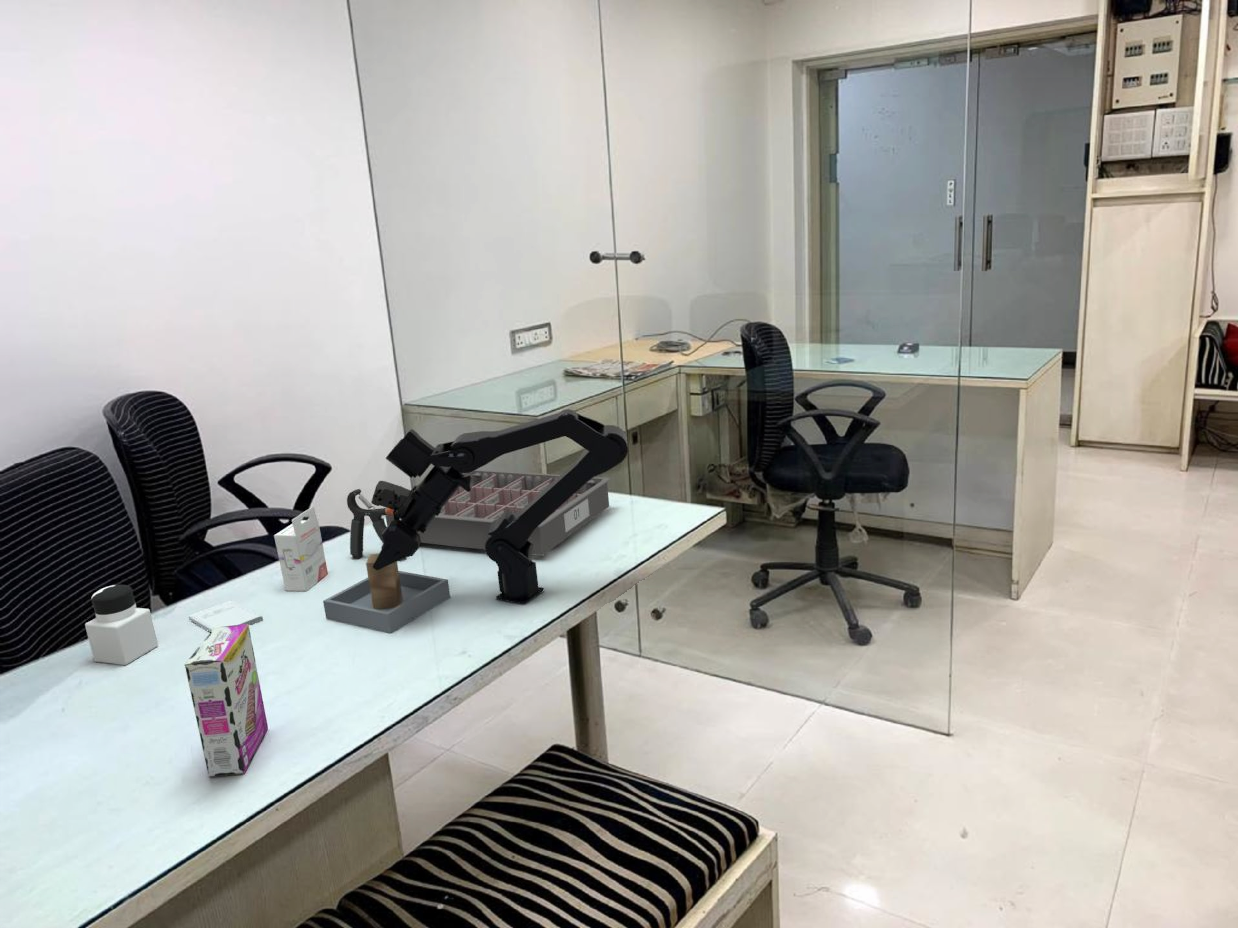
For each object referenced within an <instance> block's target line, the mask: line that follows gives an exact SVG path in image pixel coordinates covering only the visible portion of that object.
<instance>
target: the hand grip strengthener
mask: <svg viewBox="0 0 1238 928" xmlns="http://www.w3.org/2000/svg"><path fill="white" fill-rule="evenodd" d="M356 496H358V497H357V498H358V499H359V500H360V501H361V502H362V504H363V505H365V507H367V509H366V508H362V507H360V506H359V505H358V503H357V500H356ZM346 504H347V508H348V510H349V511H350V512H351V513H352V515H353V518H352V519H351V523H350V533H349V534H350V535H349V536H350V537H349V540H350V541H349V555H351V558H352V559H355V560H356V559H357V560H359V559H361V558H363V557H364V553H363V552H364V531H365V520H366V519H365V516H367V517H369V519H370V521H371V524H372V525H371V526H372V527H373V529H374V531H375V533H376V535H377V537H378V538H379V539H380V541H381V543H382V544H383V543H384V541H383V539H382V534H383V532H384V530H385V528H386V527H387V524H386V523H385V518H382V516H386V515H393V511H394V510H393V509H389V508H386V507H382V508H381V507H380V508H376V507H375V506H376V505H373V504H372V503H371V502H370V501H369V500H368V499H367V497H365V496H364V495H363V493H362V489H360V488H357V489H354V490H353V491H351V492H349V494H348V495H347V497H346ZM371 508H372V509H371Z"/></svg>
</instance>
